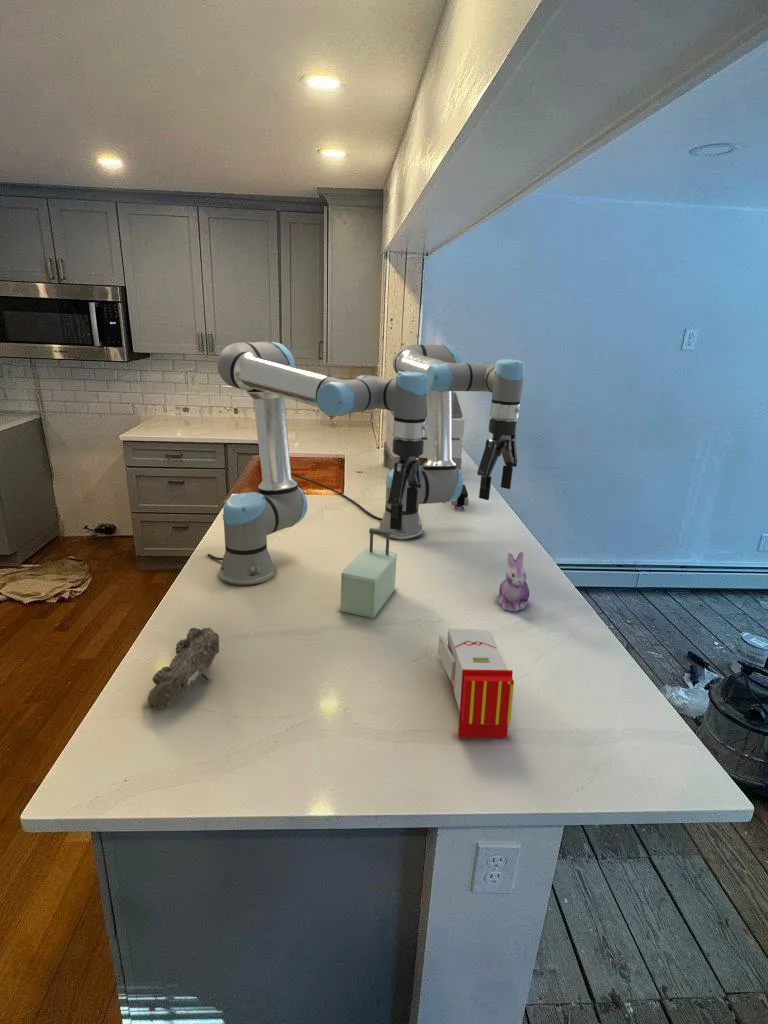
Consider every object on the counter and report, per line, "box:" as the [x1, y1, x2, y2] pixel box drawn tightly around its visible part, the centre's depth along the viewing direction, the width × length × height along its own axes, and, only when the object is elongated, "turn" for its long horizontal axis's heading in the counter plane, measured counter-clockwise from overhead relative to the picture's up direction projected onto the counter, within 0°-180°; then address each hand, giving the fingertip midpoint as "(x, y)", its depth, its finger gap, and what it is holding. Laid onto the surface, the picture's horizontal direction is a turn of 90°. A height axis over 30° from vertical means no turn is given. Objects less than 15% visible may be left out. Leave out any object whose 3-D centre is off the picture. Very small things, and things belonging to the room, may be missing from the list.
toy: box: [437, 628, 515, 738], centre depth 117 cm, size 12×13×30 cm
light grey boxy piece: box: [383, 391, 465, 472], centre depth 268 cm, size 34×33×41 cm
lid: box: [340, 527, 398, 583], centre depth 149 cm, size 18×9×8 cm, turn 161°
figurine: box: [497, 551, 530, 612], centre depth 152 cm, size 9×10×15 cm
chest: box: [340, 556, 398, 619], centre depth 152 cm, size 17×9×10 cm, turn 161°
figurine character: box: [451, 484, 470, 511], centre depth 230 cm, size 7×8×15 cm
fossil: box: [147, 627, 220, 709], centre depth 117 cm, size 22×10×15 cm
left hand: (403, 520), depth 144 cm, fingers open, 13 cm apart
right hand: (495, 493), depth 161 cm, fingers open, 13 cm apart
